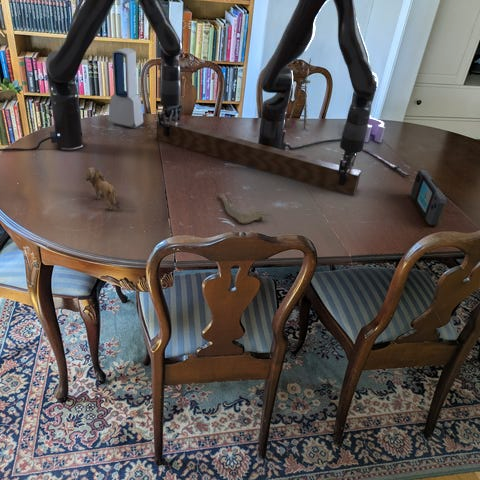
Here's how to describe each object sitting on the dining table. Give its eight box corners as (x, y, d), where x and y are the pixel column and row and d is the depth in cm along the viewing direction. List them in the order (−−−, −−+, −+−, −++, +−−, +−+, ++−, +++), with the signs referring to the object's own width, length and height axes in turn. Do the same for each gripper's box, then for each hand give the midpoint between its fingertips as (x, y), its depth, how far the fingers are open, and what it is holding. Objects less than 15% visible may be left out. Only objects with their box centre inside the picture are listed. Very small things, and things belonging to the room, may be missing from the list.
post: (356, 190, 164) (361, 170, 160) (352, 195, 161) (358, 175, 157) (163, 136, 191) (163, 118, 187) (156, 139, 187) (156, 121, 183)
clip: (343, 126, 223) (346, 112, 219) (367, 127, 225) (371, 113, 221) (360, 142, 206) (364, 127, 202) (386, 142, 209) (390, 127, 205)
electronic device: (143, 124, 200) (142, 50, 183) (134, 129, 194) (132, 53, 177) (118, 119, 203) (114, 45, 186) (108, 124, 196) (104, 48, 180)
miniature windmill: (304, 129, 213) (316, 61, 197) (286, 126, 214) (297, 58, 198) (306, 123, 221) (318, 57, 205) (288, 120, 222) (299, 54, 206)
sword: (412, 176, 179) (413, 173, 178) (406, 177, 178) (407, 174, 177) (361, 148, 202) (362, 145, 201) (356, 149, 201) (356, 146, 200)
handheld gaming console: (409, 194, 166) (417, 168, 160) (416, 194, 166) (425, 168, 160) (428, 227, 146) (439, 199, 141) (437, 228, 147) (448, 200, 141)
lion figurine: (83, 195, 144) (80, 168, 139) (97, 189, 147) (95, 163, 142) (112, 213, 136) (111, 185, 131) (127, 207, 140) (126, 180, 135)
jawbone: (251, 231, 136) (251, 225, 134) (200, 206, 146) (200, 200, 145) (270, 218, 141) (270, 213, 140) (219, 195, 152) (219, 189, 150)
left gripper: (172, 85, 184) (172, 127, 193) (151, 92, 173) (151, 136, 182) (188, 89, 181) (187, 131, 190) (168, 97, 170) (167, 141, 179)
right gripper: (348, 126, 160) (338, 172, 169) (336, 138, 149) (326, 186, 158) (370, 132, 158) (358, 177, 167) (359, 144, 147) (348, 192, 156)
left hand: (170, 133), depth 186 cm, fingers closed on post, 4 cm apart
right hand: (343, 181), depth 163 cm, fingers closed on post, 4 cm apart
